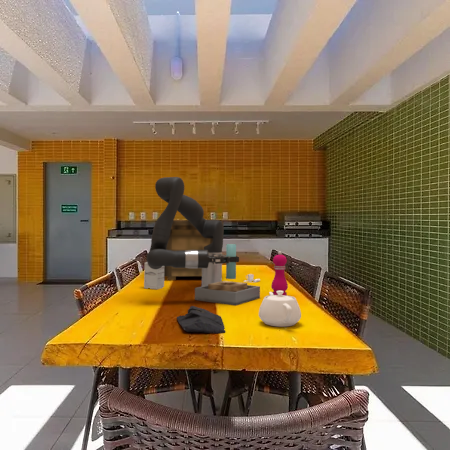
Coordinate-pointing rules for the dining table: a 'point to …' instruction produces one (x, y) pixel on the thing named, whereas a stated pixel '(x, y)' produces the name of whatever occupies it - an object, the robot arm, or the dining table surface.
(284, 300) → the teapot
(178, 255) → the robot arm
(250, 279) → the teacup and saucer
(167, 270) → the crate
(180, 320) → the dark gray crumpled cloth
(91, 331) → the dining table surface
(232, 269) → the peg
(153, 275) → the white marbled block
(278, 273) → the pepper mill
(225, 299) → the tray
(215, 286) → the bore block
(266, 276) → the dining table surface
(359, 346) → the dining table surface
